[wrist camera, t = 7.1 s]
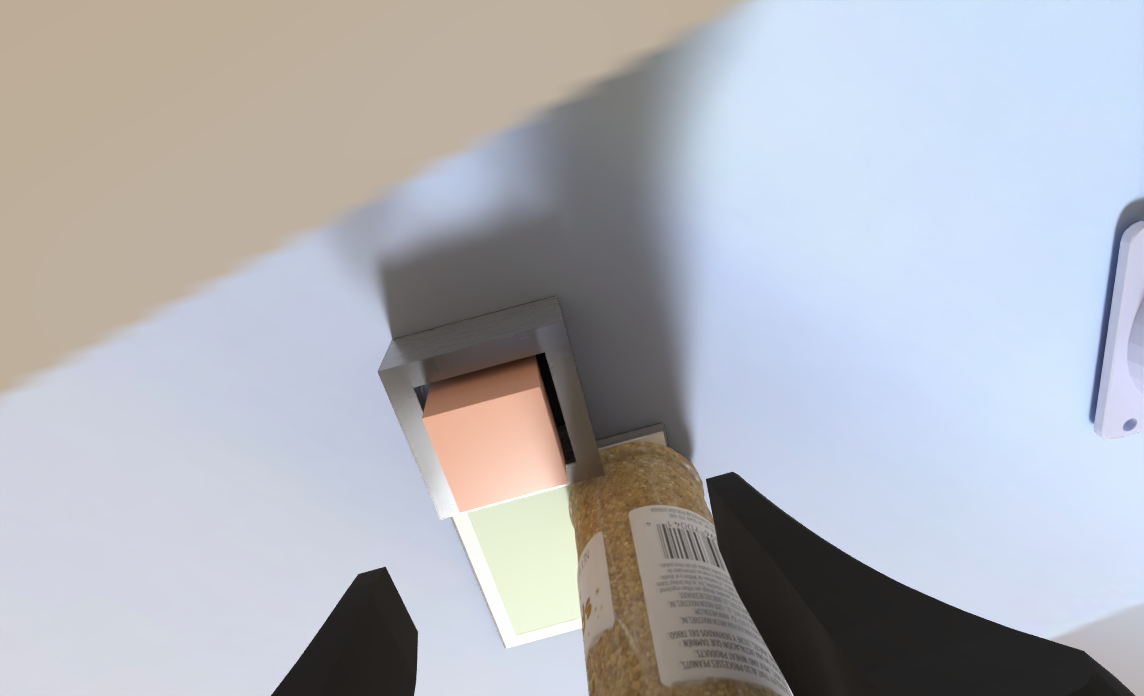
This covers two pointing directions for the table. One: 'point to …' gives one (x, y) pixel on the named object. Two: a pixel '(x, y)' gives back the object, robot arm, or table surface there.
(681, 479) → the sprinkles bottle
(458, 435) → the button
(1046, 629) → the table surface
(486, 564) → the picture board
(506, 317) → the button housing
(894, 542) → the table surface
